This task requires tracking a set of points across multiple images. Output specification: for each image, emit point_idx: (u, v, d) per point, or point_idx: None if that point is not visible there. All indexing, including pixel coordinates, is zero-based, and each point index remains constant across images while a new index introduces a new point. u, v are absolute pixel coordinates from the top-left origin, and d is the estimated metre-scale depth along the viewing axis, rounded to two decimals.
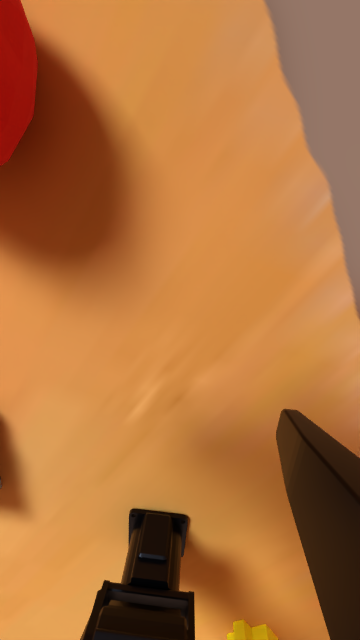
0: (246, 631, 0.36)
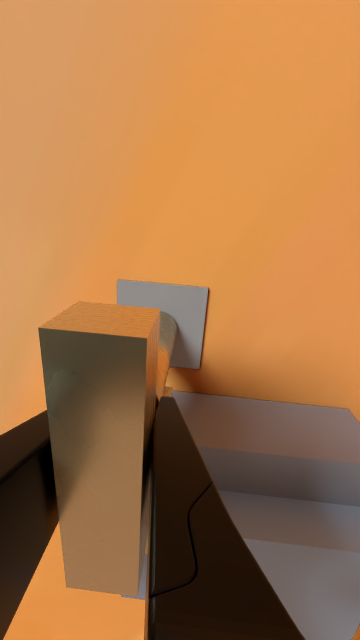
0: None
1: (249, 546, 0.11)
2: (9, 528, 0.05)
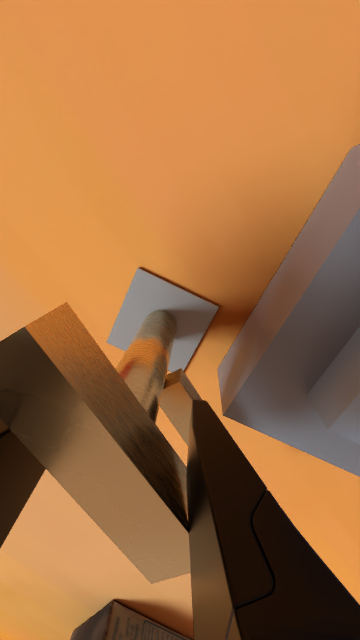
0: None
1: None
2: None
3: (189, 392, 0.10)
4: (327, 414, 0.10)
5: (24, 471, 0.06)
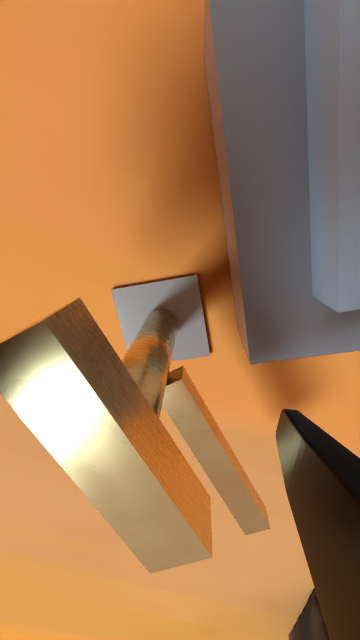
0: None
1: (356, 188, 0.07)
2: None
3: (190, 390, 0.10)
4: (331, 298, 0.08)
5: None
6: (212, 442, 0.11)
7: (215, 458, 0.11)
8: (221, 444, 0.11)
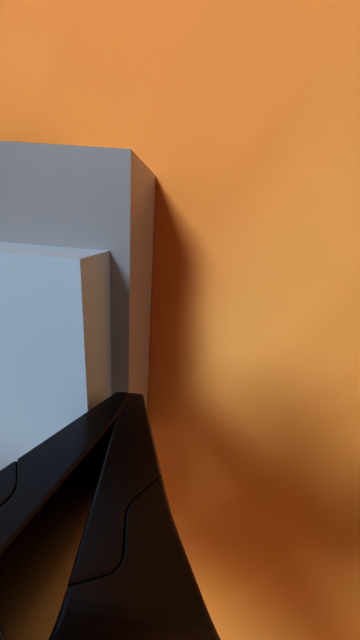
0: None
1: None
2: (61, 535, 0.05)
3: None
4: None
5: None
6: None
7: None
8: None
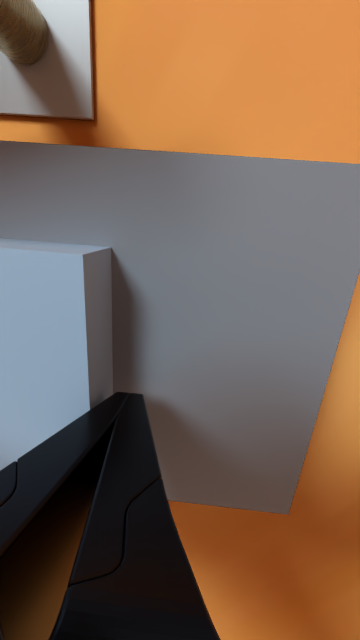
0: None
1: None
2: (61, 535, 0.05)
3: None
4: None
5: None
6: None
7: None
8: None
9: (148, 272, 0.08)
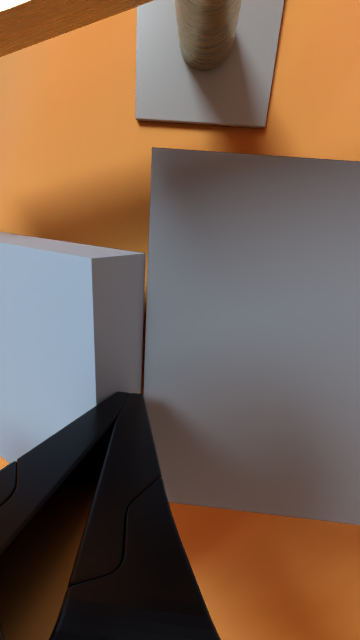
0: None
1: None
2: (61, 535, 0.05)
3: None
4: None
5: None
6: None
7: None
8: None
9: None
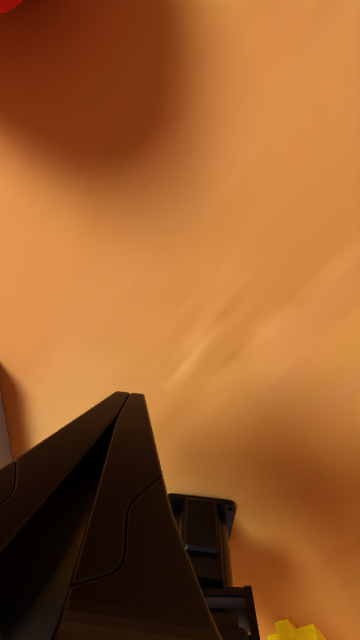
0: (291, 632, 0.30)
1: None
2: (60, 535, 0.05)
3: None
4: None
5: None
6: None
7: None
8: None
9: None
